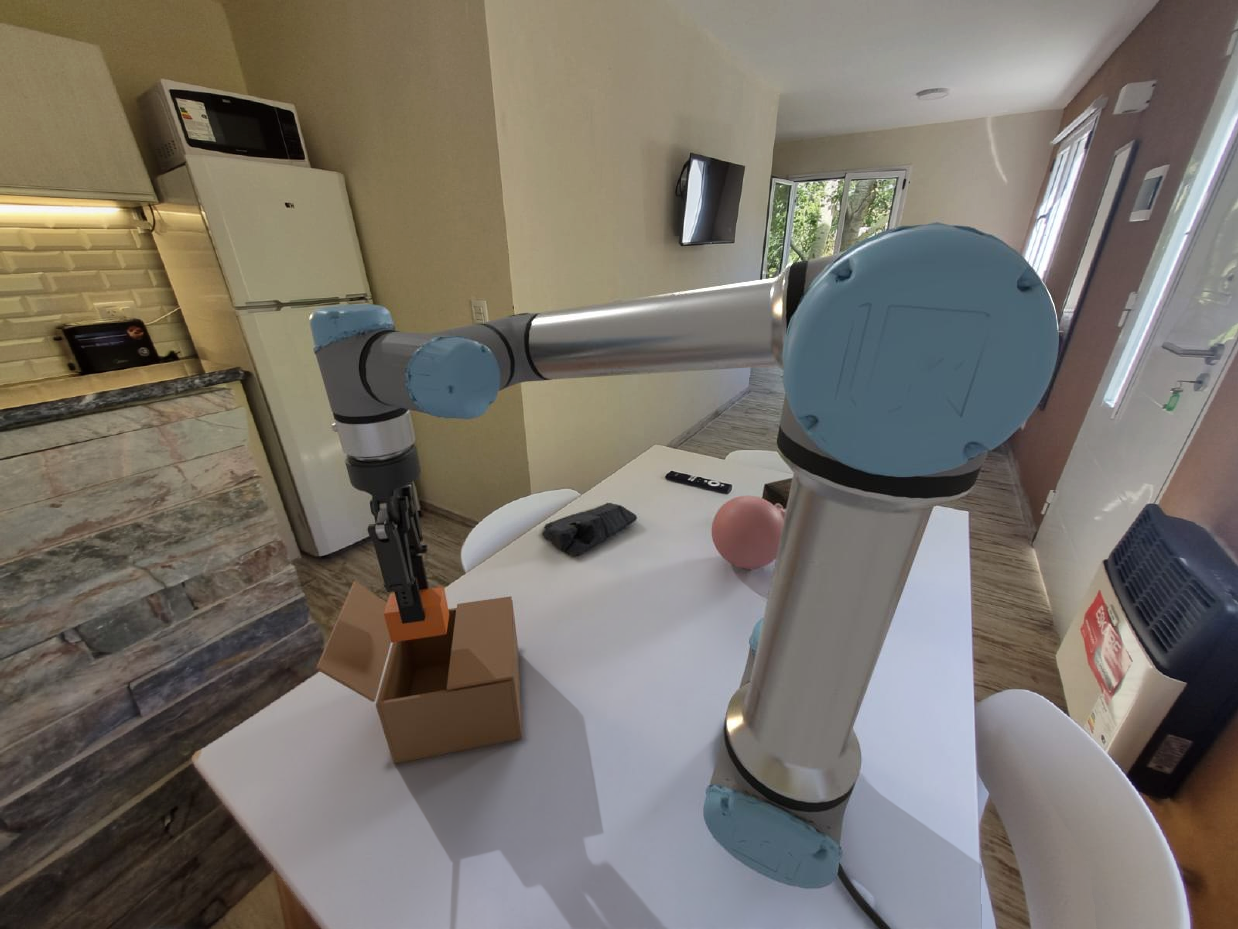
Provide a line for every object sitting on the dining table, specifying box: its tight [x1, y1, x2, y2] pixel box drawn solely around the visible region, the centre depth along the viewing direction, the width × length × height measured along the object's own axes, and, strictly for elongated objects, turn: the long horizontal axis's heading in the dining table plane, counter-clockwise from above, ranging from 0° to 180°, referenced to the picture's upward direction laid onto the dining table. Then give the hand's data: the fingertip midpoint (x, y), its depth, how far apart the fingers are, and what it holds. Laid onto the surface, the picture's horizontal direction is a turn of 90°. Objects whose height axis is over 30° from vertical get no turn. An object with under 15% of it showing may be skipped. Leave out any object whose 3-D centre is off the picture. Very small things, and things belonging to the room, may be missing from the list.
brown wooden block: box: [761, 477, 793, 509], centre depth 127 cm, size 8×19×7 cm, turn 114°
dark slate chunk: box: [541, 502, 638, 557], centre depth 115 cm, size 15×22×5 cm
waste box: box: [375, 596, 523, 764], centre depth 71 cm, size 16×17×12 cm
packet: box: [384, 586, 449, 643], centre depth 65 cm, size 4×7×5 cm, turn 102°
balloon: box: [711, 495, 786, 570], centre depth 103 cm, size 15×20×15 cm
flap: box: [315, 580, 392, 703], centre depth 64 cm, size 16×8×1 cm
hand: (416, 607), depth 64 cm, fingers closed on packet, 4 cm apart
